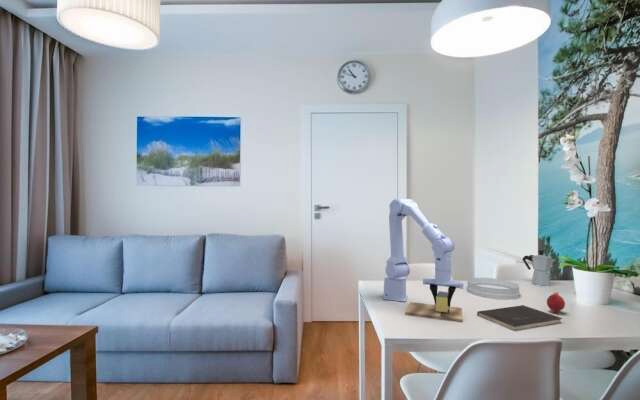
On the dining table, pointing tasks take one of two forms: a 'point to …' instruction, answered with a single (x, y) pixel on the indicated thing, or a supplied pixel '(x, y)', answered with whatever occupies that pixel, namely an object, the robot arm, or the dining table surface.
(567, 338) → the dining table surface
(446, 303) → the block
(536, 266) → the coffee maker
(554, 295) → the onion
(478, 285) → the dish
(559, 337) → the dining table surface
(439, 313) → the board
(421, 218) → the robot arm
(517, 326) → the hardcover book
